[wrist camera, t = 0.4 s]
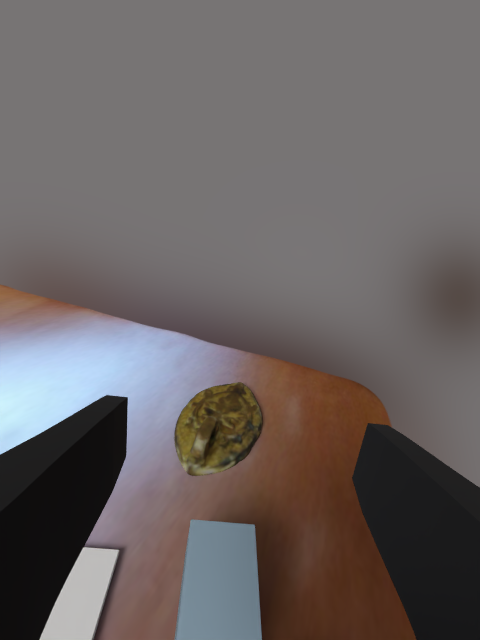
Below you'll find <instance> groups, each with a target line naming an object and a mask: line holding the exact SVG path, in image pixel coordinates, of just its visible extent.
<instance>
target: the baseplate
mask: <svg viewBox="0 0 480 640" xmlns="http://www.w3.org/2000/svg"><path fill="white" fill-rule="evenodd" d="M118 556H119V550H114V549H100V548H86V547H83V549H82V551H81V553H80V555H79V557H78V559H77V561H76V562H75V564H74V566H73V568H72V570H71V572H70V574H69V576H68V578H67V580H66V582H65V584H64V586H63V588H62V590H61V592H60V594H59V596H58V598H57V600H56V602H55V605H54V607H53V609H52V612H51V614H50V616H49V619H48V621H47V623H46V626H45V628H44V630H43V633H42V635H41V637H40V639H39V640H93V639H94V636H95V633H96V629H97V626H98V623H99V619H100V616H101V613H102V609H103V606H104V603H105V599H106V596H107V593H108V589H109V586H110V583H111V579H112V576H113V573H114V569H115V566H116V563H117V559H118Z"/></svg>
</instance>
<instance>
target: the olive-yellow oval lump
mask: <svg viewBox="0 0 480 640" xmlns="http://www.w3.org/2000/svg"><path fill="white" fill-rule="evenodd" d="M261 427H262V414H261V411H260V408H259V405H258V403H257V401H256V399H255V397H254V395H253V393H252V392H251V391H250V389H249V388H248V387H247V386H245V385H244V384H243V383H241V382H238V383H232V384H226V385H219V386H214V387H211V388H208V389H205V390H203V391H201V392H199V393H198V394H196V395H195V397H193V398H192V399H191V400H190V401H189V403H188V404H187V405H186V407H185V408H184V409H183V410H182V412H181V414H180V416H179V418H178V420H177V424H176V428H175V447H176V451H177V454H178V457H179V460H180V462H181V464H182V466H183V467H184V469H185V471H186V472H187V473H188V474H189V475H192V476H200V475H207V474H214V473H218V472H221V471H224V470H227V469H229V468H231V467H233V466H234V465H236V464H237V463H238V462H239V461H242V460H243V459H244V458H245V457H246V456H247V455H248V454H249V452H250V450H251V448H252V446H253V445H254V443H255V441H256V440H257V438H258V437H259V435H260V430H261Z"/></svg>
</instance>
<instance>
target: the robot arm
mask: <svg viewBox="0 0 480 640" xmlns="http://www.w3.org/2000/svg"><path fill="white" fill-rule="evenodd" d="M127 405H128V397H118V396H109V395H106V396H104V397H102V398H100V399H99V400H97V401H95V402H93V403H92V404H90V405H88V406H87V407H85V408H83V409H82V410H80V411H78V412H76V413H75V414H73V415H71V416H70V417H68V418H66V419H65V420H63V421H61V422H59V423H58V424H56V425H54V426H52V427H51V428H49V429H47V430H46V431H44V432H42V433H40V434H38V435H37V436H35V437H33V438H31V439H29V440H27V441H25V442H23V443H21V444H20V445H18V446H16V447H14V448H12V449H10V450H8V451H6V452H5V453H3V454H1V455H0V640H39V639H40V637H41V635H42V633H43V630H44V628H45V626H46V623H47V621H48V619H49V616H50V614H51V612H52V609H53V607H54V605H55V602H56V600H57V598H58V596H59V594H60V592H61V590H62V588H63V586H64V584H65V582H66V580H67V578H68V576H69V574H70V572H71V570H72V568H73V566H74V564H75V562H76V561H77V559H78V557H79V555H80V553H81V551H82V549H83V547H84V545H85V543H86V541H87V540H88V538H89V536H90V534H91V532H92V530H93V528H94V526H95V524H96V522H97V520H98V518H99V517H100V515H101V513H102V511H103V509H104V507H105V505H106V503H107V501H108V499H109V497H110V495H111V493H112V491H113V489H114V486H115V484H116V481H117V479H118V476H119V474H120V471H121V468H122V466H123V463H124V460H125V458H126V443H127ZM352 479H353V482H354V486H355V489H356V493H357V496H358V500H359V503H360V506H361V509H362V512H363V515H364V517H365V520H366V522H367V524H368V527H369V529H370V531H371V534H372V536H373V538H374V541H375V543H376V545H377V547H378V550H379V552H380V554H381V556H382V559H383V561H384V563H385V566H386V568H387V570H388V572H389V575H390V577H391V579H392V581H393V584H394V586H395V588H396V590H397V593H398V595H399V597H400V599H401V602H402V604H403V606H404V609H405V611H406V614H407V616H408V618H409V621H410V623H411V626H412V628H413V631H414V633H415V636H416V639H417V640H480V488H479V487H478V486H476V485H475V484H473V483H472V482H470V481H469V480H467V479H466V478H464V477H463V476H462V475H460V474H459V473H457V472H456V471H454V470H453V469H452V468H450V467H449V466H447V465H446V464H444V463H443V462H442V461H440V460H438V459H437V458H436V457H434V456H433V455H432V454H430V453H429V452H427V451H426V450H424V449H423V448H422V447H420V446H419V445H417V444H416V443H414V442H413V441H412V440H410V439H409V438H407V437H406V436H404V435H403V434H401V433H400V432H398V431H396V430H395V429H393V428H391V427H390V426H388V425H380V424H371V423H368V425H367V428H366V432H365V435H364V439H363V442H362V446H361V449H360V453H359V456H358V460H357V463H356V467H355V470H354V474H353V477H352Z"/></svg>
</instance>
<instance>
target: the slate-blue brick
mask: <svg viewBox="0 0 480 640" xmlns="http://www.w3.org/2000/svg"><path fill="white" fill-rule="evenodd" d="M175 640H262V634H261V618H260V602H259V585H258V569H257V552H256V536H255V525H252V524H240V523H227V522H215V521H203V520H191V523H190V529H189V536H188V542H187V548H186V554H185V561H184V569H183V577H182V585H181V593H180V600H179V608H178V616H177V624H176V632H175Z"/></svg>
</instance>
